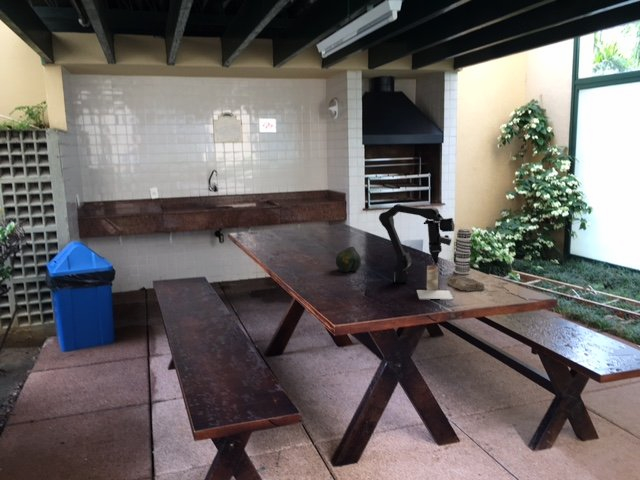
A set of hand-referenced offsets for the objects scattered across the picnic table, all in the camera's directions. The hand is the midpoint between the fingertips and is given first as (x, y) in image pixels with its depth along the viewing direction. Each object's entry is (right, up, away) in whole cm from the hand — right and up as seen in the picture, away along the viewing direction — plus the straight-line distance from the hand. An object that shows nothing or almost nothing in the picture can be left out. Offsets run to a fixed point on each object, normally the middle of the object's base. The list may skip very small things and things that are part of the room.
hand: (436, 261), depth 275 cm
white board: (-4, -16, -16) cm, 23 cm away
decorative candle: (+22, -7, +30) cm, 38 cm away
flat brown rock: (+14, -13, +1) cm, 19 cm away
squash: (-44, -7, +37) cm, 57 cm away
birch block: (-3, -14, -5) cm, 15 cm away
